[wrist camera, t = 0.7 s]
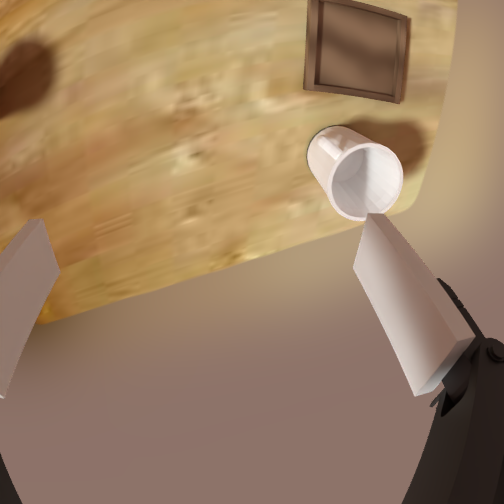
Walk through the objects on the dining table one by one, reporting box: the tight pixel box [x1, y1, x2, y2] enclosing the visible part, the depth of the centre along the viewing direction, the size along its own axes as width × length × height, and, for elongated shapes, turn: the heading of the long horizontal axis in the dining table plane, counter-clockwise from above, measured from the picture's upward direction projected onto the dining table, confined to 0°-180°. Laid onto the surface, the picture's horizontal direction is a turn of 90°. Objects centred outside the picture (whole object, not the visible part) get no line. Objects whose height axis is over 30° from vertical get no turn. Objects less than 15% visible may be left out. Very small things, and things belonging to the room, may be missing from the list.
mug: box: [307, 126, 403, 221], centre depth 34 cm, size 11×9×10 cm
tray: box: [303, 0, 407, 104], centre depth 29 cm, size 13×13×2 cm
